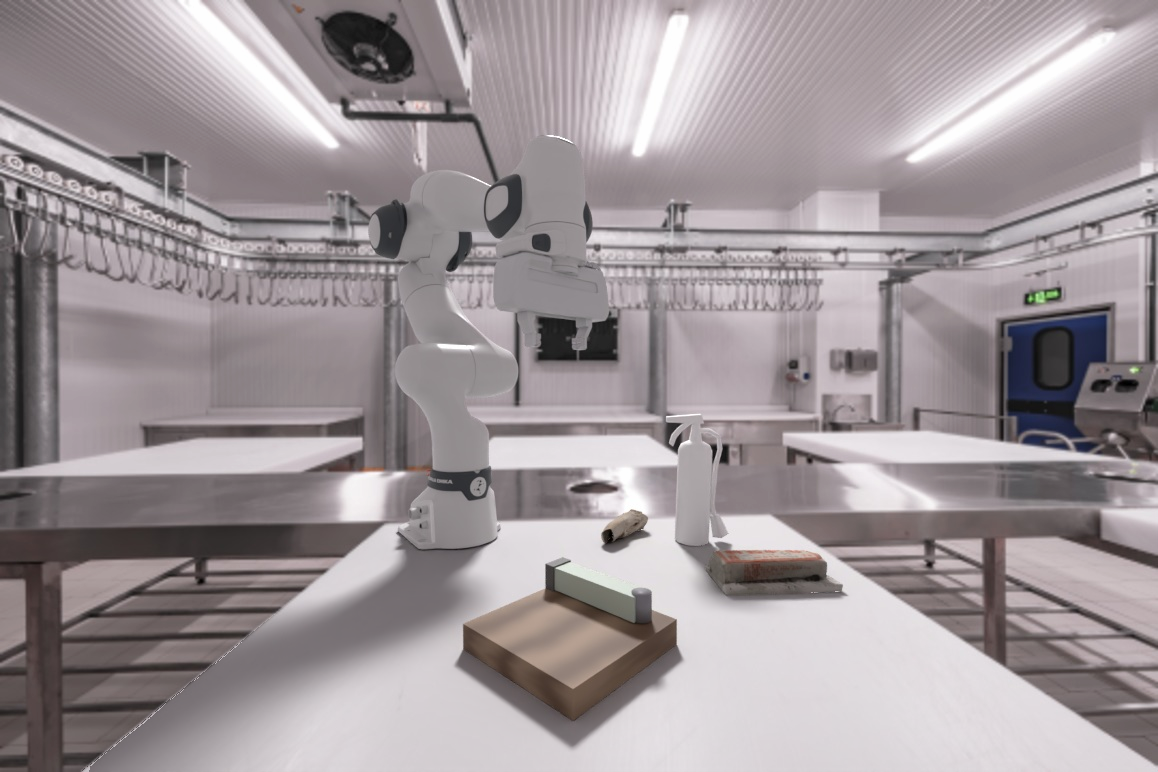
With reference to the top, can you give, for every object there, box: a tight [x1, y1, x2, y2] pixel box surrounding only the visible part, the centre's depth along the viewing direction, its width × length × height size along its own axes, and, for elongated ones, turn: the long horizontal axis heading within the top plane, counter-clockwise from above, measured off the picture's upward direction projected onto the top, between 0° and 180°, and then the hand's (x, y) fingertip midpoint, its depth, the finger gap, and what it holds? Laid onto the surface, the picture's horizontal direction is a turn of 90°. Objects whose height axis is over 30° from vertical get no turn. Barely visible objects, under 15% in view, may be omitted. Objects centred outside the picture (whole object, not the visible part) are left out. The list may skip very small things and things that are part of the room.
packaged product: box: [704, 549, 844, 596], centre depth 77 cm, size 18×5×10 cm
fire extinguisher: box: [665, 413, 729, 547], centre depth 96 cm, size 7×12×25 cm, turn 83°
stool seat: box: [462, 587, 678, 722], centre depth 58 cm, size 18×18×3 cm
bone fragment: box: [600, 509, 649, 544], centre depth 99 cm, size 14×6×5 cm, turn 145°
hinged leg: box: [544, 556, 653, 623], centre depth 63 cm, size 16×3×3 cm, turn 47°
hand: (557, 348), depth 71 cm, fingers open, 8 cm apart
